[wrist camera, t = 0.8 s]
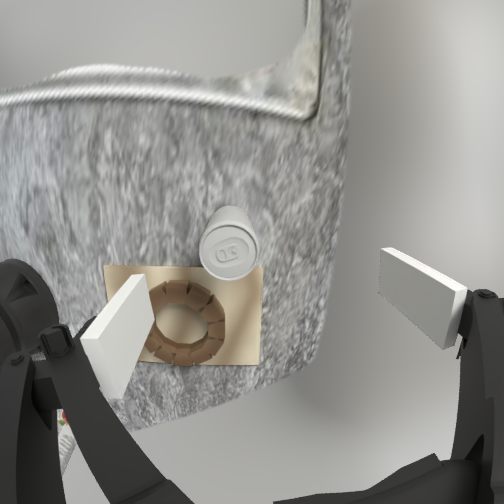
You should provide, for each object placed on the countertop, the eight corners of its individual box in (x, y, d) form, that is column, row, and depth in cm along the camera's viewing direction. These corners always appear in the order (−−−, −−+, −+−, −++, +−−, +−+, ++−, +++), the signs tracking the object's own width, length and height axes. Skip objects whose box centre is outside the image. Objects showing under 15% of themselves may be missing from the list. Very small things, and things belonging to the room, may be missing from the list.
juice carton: (58, 394, 39) (16, 466, 21) (89, 425, 41) (58, 499, 23) (40, 401, 40) (0, 466, 21) (68, 430, 42) (38, 496, 24)
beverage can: (255, 238, 34) (268, 272, 23) (216, 251, 34) (209, 290, 23) (243, 199, 33) (250, 213, 22) (203, 212, 33) (188, 233, 22)
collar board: (120, 356, 37) (114, 368, 35) (105, 265, 34) (95, 272, 31) (258, 362, 39) (260, 375, 36) (262, 267, 35) (265, 275, 32)
